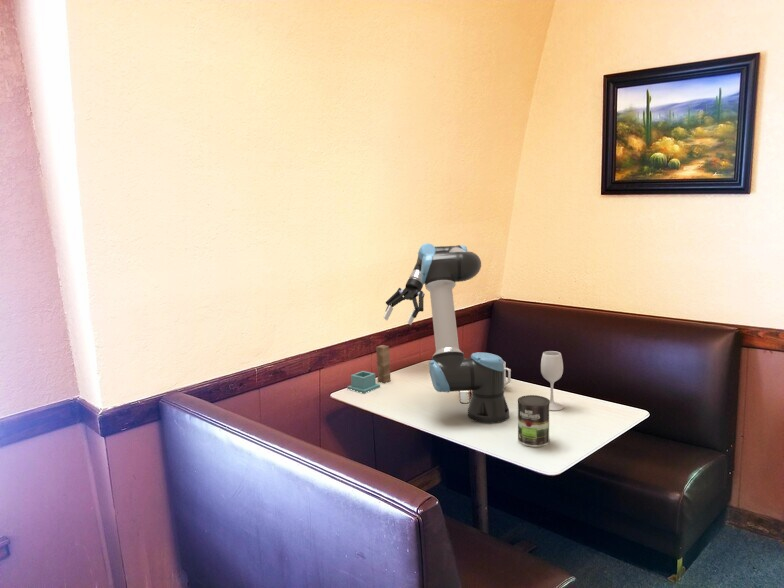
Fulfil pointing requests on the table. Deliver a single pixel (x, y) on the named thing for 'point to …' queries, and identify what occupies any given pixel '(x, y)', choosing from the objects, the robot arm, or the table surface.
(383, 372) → the post
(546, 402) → the coffee can
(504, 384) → the mug
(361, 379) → the teal square socket
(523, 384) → the table surface
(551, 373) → the wineglass
